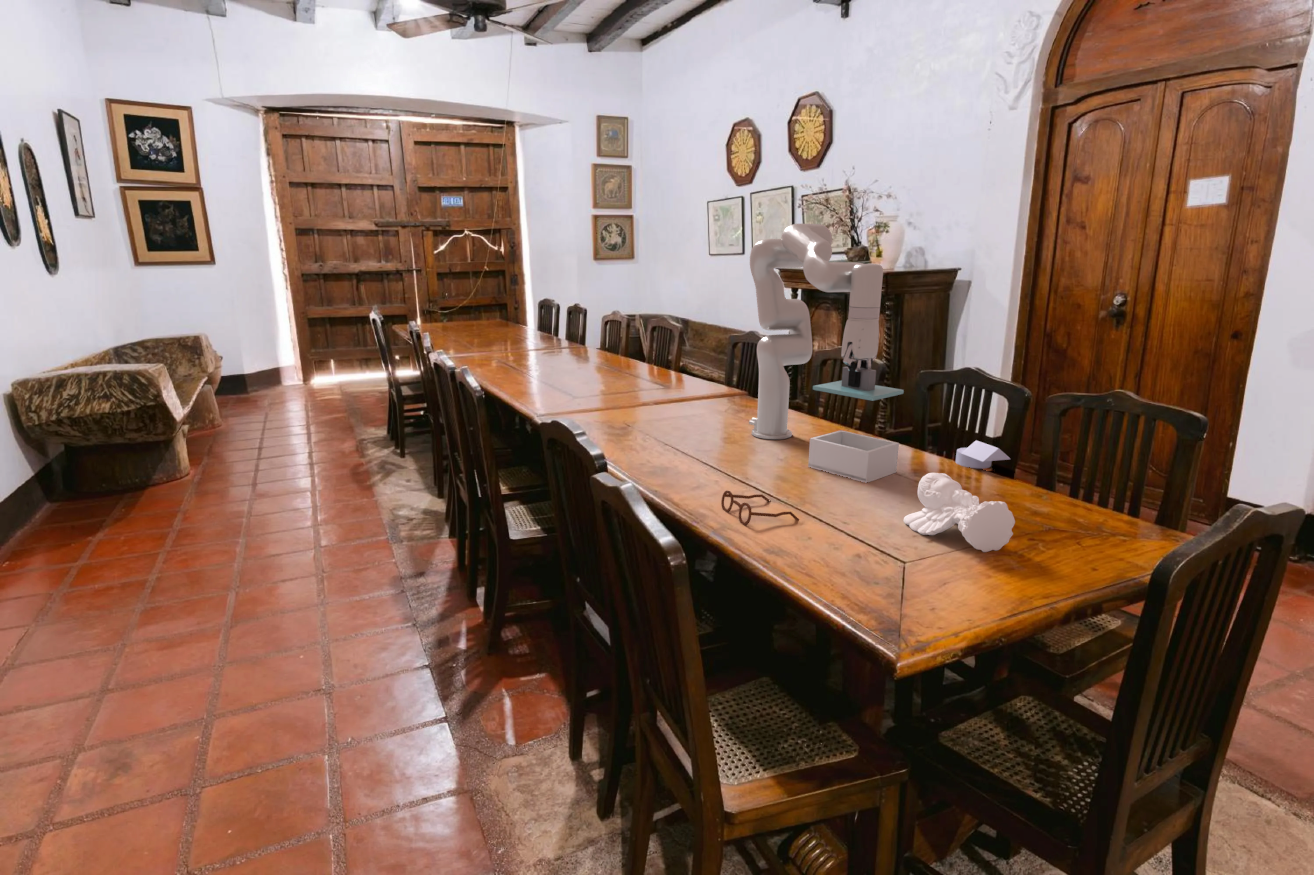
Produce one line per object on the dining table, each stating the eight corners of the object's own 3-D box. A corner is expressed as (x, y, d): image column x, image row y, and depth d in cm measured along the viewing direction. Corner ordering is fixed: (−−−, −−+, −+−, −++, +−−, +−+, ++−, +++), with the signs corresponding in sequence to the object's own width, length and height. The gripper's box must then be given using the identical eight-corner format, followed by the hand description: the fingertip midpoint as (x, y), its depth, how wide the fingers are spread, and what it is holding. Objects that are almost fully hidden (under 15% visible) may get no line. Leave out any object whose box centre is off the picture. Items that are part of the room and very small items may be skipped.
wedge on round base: (1009, 471, 189) (975, 458, 201) (1012, 446, 187) (978, 435, 199) (981, 473, 186) (948, 460, 198) (984, 449, 185) (951, 437, 197)
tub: (808, 466, 191) (809, 438, 189) (839, 457, 200) (841, 430, 198) (865, 483, 178) (868, 452, 176) (896, 472, 187) (899, 443, 185)
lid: (812, 389, 186) (814, 367, 185) (844, 383, 195) (845, 361, 193) (872, 400, 173) (874, 376, 171) (903, 393, 182) (905, 370, 180)
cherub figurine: (961, 507, 131) (900, 466, 150) (951, 565, 136) (893, 518, 154) (1021, 500, 135) (954, 460, 153) (1009, 557, 139) (945, 512, 157)
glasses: (719, 509, 161) (720, 488, 160) (770, 502, 165) (771, 482, 164) (746, 529, 149) (747, 507, 148) (800, 522, 154) (801, 500, 152)
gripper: (869, 311, 187) (863, 380, 191) (832, 314, 176) (826, 387, 181) (894, 313, 181) (888, 384, 186) (857, 317, 171) (851, 391, 176)
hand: (858, 385), depth 183 cm, fingers closed on lid, 3 cm apart
